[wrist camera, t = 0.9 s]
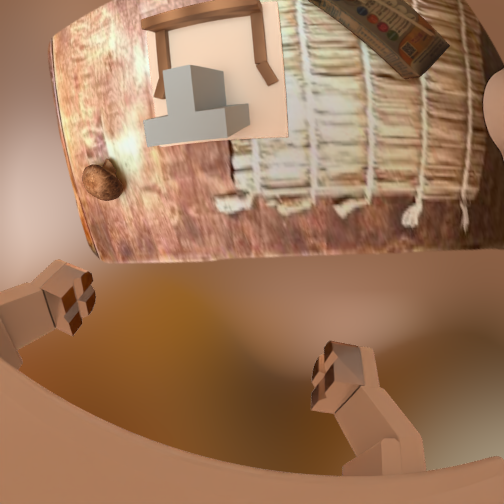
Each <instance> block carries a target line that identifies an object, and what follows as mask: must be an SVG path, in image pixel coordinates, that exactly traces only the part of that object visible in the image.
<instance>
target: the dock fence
mask: <svg viewBox="0 0 504 504" xmlns="http://www.w3.org/2000/svg"><path fill="white" fill-rule="evenodd" d="M243 16H250V18H251V29H252V39H253V50H254V61H255V64H258V65H256V67H257V69H258V71H259V72H260V74H261V75H262V77H263V79H264V80H265V82H266V84H267V85H268V86H270V85H272V84H274V83H276V82H278V81H279V80H278V79H277V77H276V75H275V74H274V72H273V70H272V69H271V67H270V66H269V64H268V62H267V51H266V40H265V29H264V19H263V9H262V4H261V2H260V1H259V0H214V1H208V2H204V3H199V4H194V5H190V6H186V7H182V8H178V9H174V10H171V11H167V12H164V13H160V14H157V15H154V16H151V17H148V18H145V19H142V20H141V27H142V29H144V30H147V31H151V32H155V38H156V51H157V62H158V72H159V80H158V83H157V86H156V90H155V93H154V96H153V97H155V98H159V99H166V96H165V88H164V79H163V70H167V69H171V59H170V47H169V35H168V31H170V30H174V29H178V28H182V27H187V26H191V25H196V24H200V23H205V22H211V21H216V20H222V19H229V18H236V17H243Z"/></svg>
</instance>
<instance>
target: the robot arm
mask: <svg viewBox="0 0 504 504" xmlns="http://www.w3.org/2000/svg"><path fill="white" fill-rule="evenodd" d="M483 111H484V118H485V122H486V126H487V129H488V132H489V134H490V136H491V138H492V140H493V141H494V143H495V144H496V146H497V147H498V148H499V150H500V151H501V153H502V156H503V160H504V68H503V69H502V70H501V71H499V72H497V73H495V74H494V75H493V76H492V77H491V78H490V80H489V81H488V83H487V85H486V88H485V92H484V99H483ZM92 282H93V277H92V273H90V272H89V271H86V270H84V269H82V268H79V267H77V266H74V265H72V264H70V263H67V262H64V261H62V260H60V259H58V260H55V261H54V262H53V263H51V264H50V265H49V266H48V267H47V268H46V269H45V270H44V271H43V272H42V273H41V274H40V275H38V277H36V278H35V279H34V280H33V281H32V282H31V283H24V284H21V285H18V286H15V287H13V288H10V289H7V290H4V291H1V292H0V504H504V460H503V459H502V458H501V457H499V456H494V457H489V458H486V459H482V460H478V461H474V462H470V463H466V464H462V465H457V466H453V467H448V468H442V469H436V470H429V471H426V465H425V457H424V450H423V442H422V437H421V435H420V434H419V433H418V432H417V430H416V429H415V428H414V426H413V425H412V424H411V423H410V421H409V420H408V419H407V418H406V416H405V415H404V414H403V412H402V411H401V410H400V409H399V407H398V406H397V405H396V403H395V402H394V401H393V400H392V398H391V397H390V396H389V395H388V393H387V392H386V391H385V390H384V389H383V388H380V386H379V379H378V374H377V368H376V362H375V357H374V351H373V350H372V348H368V347H362V346H356V345H351V344H345V343H340V342H335V341H329V342H327V344H326V346H325V347H324V354H322V355H320V356H319V357H318V359H317V360H316V362H315V365H314V368H313V373H312V383H313V385H314V386H315V389H314V390H313V392H312V393H311V410H314V411H320V412H326V413H333V414H334V416H335V418H336V419H337V421H338V423H339V425H340V427H341V429H342V431H343V433H344V434H345V436H346V438H347V440H348V442H349V444H350V446H351V447H352V449H353V451H354V453H355V455H356V458H355V459H353V460H351V461H350V462H348V463H346V464H345V465H344V466H343V467H342V476H323V475H308V474H297V473H288V472H280V471H272V470H265V469H259V468H253V467H248V466H243V465H237V464H233V463H228V462H224V461H219V460H215V459H211V458H207V457H203V456H200V455H196V454H192V453H189V452H186V451H182V450H179V449H176V448H173V447H169V446H167V445H164V444H161V443H158V442H155V441H153V440H150V439H147V438H144V437H142V436H139V435H137V434H134V433H132V432H129V431H127V430H125V429H122V428H120V427H118V426H115V425H113V424H111V423H109V422H107V421H104V420H102V419H100V418H98V417H96V416H94V415H92V414H90V413H88V412H86V411H84V410H82V409H80V408H78V407H77V406H74V405H73V404H71V403H69V402H67V401H66V400H64V399H62V398H60V397H59V396H57V395H55V394H54V393H52V392H50V391H49V390H47V389H46V388H44V387H42V386H41V385H39V384H38V383H36V382H35V381H33V380H32V379H30V378H29V377H27V376H25V375H24V374H23V373H21V372H20V371H18V369H19V368H20V366H21V365H22V359H21V357H20V355H19V353H18V351H17V350H19V349H20V348H22V347H24V346H26V345H28V344H29V343H31V342H33V341H35V340H37V339H38V338H40V337H42V336H44V335H46V334H47V333H49V332H51V331H53V330H55V328H56V329H58V330H61V331H63V332H65V333H67V334H69V335H71V336H73V335H74V334H75V333H76V331H77V330H78V329H79V327H80V326H81V325H82V318H83V317H86V316H88V315H89V314H90V313H91V311H92V310H93V307H94V304H95V299H96V294H95V290H94V289H93V287H92V286H91V284H92Z"/></svg>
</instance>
